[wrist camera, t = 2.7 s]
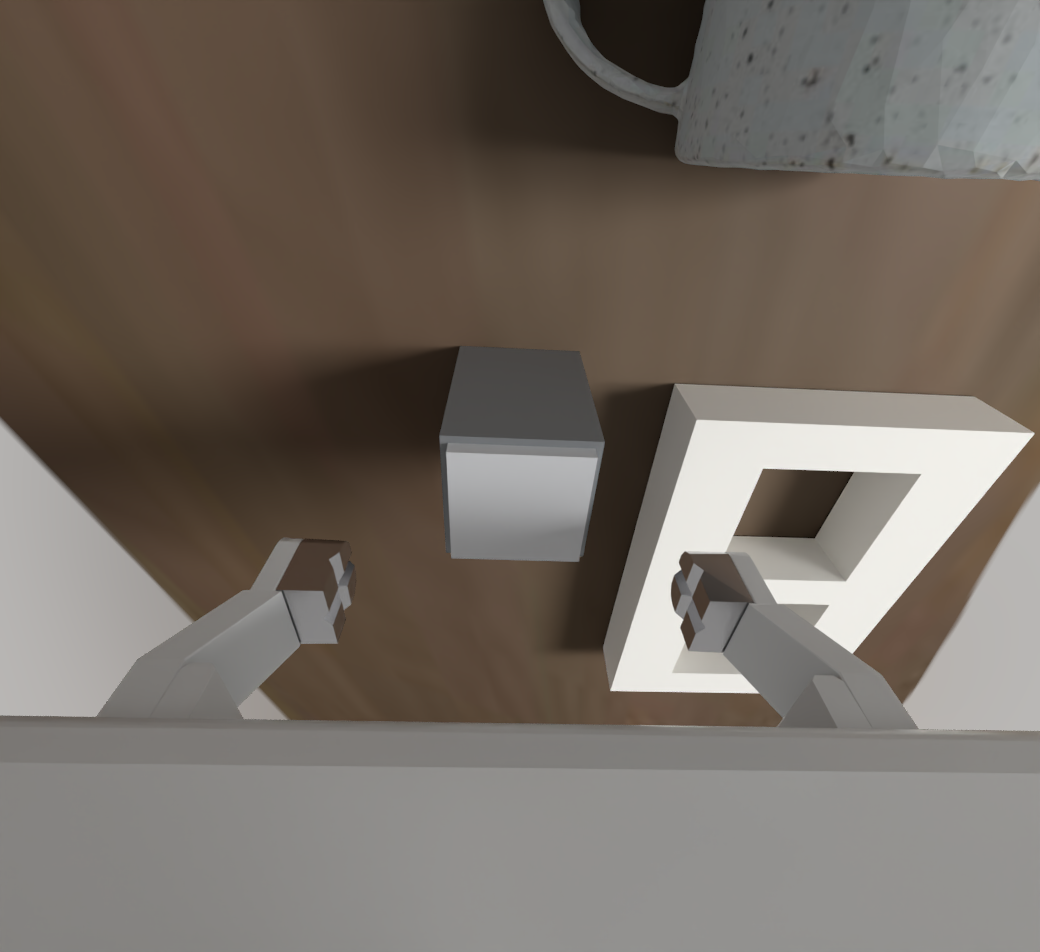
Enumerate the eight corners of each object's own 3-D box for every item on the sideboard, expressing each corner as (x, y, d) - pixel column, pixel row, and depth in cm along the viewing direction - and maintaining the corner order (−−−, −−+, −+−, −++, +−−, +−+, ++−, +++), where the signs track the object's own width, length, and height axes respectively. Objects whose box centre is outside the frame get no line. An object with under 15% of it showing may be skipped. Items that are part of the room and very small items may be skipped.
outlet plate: (674, 383, 17) (696, 419, 15) (974, 396, 17) (1035, 433, 15) (602, 647, 26) (610, 691, 24) (795, 651, 27) (819, 694, 25)
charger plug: (460, 345, 16) (437, 444, 11) (579, 351, 16) (607, 451, 11) (462, 446, 18) (444, 562, 13) (565, 449, 18) (584, 566, 14)
